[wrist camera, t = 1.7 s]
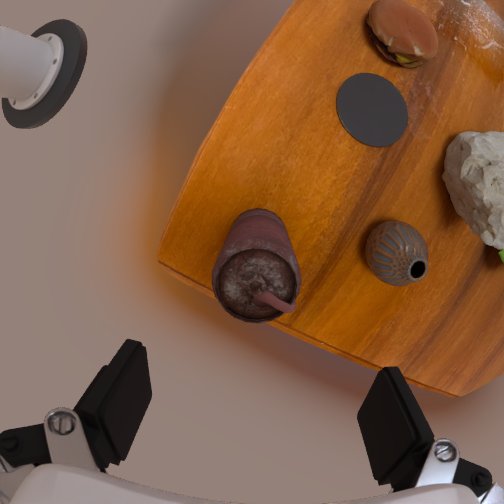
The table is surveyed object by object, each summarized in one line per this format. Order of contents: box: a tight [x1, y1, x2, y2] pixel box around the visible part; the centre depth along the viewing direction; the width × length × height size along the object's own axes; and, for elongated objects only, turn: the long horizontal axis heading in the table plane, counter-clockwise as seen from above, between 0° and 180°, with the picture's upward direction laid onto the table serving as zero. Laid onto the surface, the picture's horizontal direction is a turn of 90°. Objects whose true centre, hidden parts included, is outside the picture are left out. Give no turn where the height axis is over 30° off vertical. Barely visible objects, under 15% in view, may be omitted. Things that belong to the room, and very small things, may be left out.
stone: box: [442, 131, 504, 250], centre depth 22 cm, size 16×10×15 cm, turn 107°
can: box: [212, 209, 301, 323], centre depth 25 cm, size 6×6×14 cm
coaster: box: [336, 73, 408, 147], centre depth 26 cm, size 9×9×1 cm
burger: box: [366, 0, 438, 68], centre depth 21 cm, size 10×9×5 cm
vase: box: [365, 221, 428, 286], centre depth 27 cm, size 7×7×9 cm
